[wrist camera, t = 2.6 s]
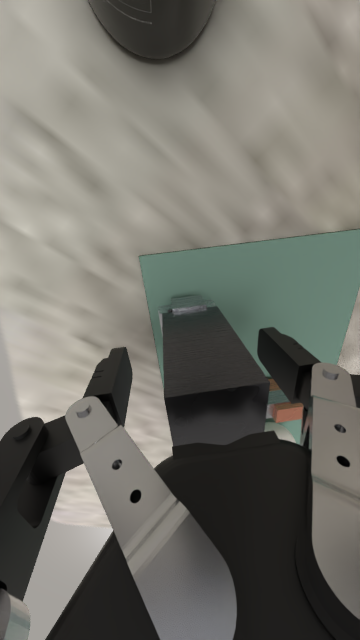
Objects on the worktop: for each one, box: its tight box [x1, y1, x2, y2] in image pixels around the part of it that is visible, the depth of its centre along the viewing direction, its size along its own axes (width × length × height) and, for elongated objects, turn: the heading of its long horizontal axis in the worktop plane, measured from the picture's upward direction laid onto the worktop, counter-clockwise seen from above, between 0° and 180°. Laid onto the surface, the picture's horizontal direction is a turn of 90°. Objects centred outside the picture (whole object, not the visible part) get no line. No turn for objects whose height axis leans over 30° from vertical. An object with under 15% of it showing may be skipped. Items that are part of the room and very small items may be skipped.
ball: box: [264, 422, 296, 443], centre depth 22 cm, size 4×4×4 cm
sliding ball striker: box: [162, 295, 304, 446], centre depth 14 cm, size 12×12×10 cm
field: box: [139, 229, 360, 444], centre depth 24 cm, size 18×41×1 cm, turn 6°
